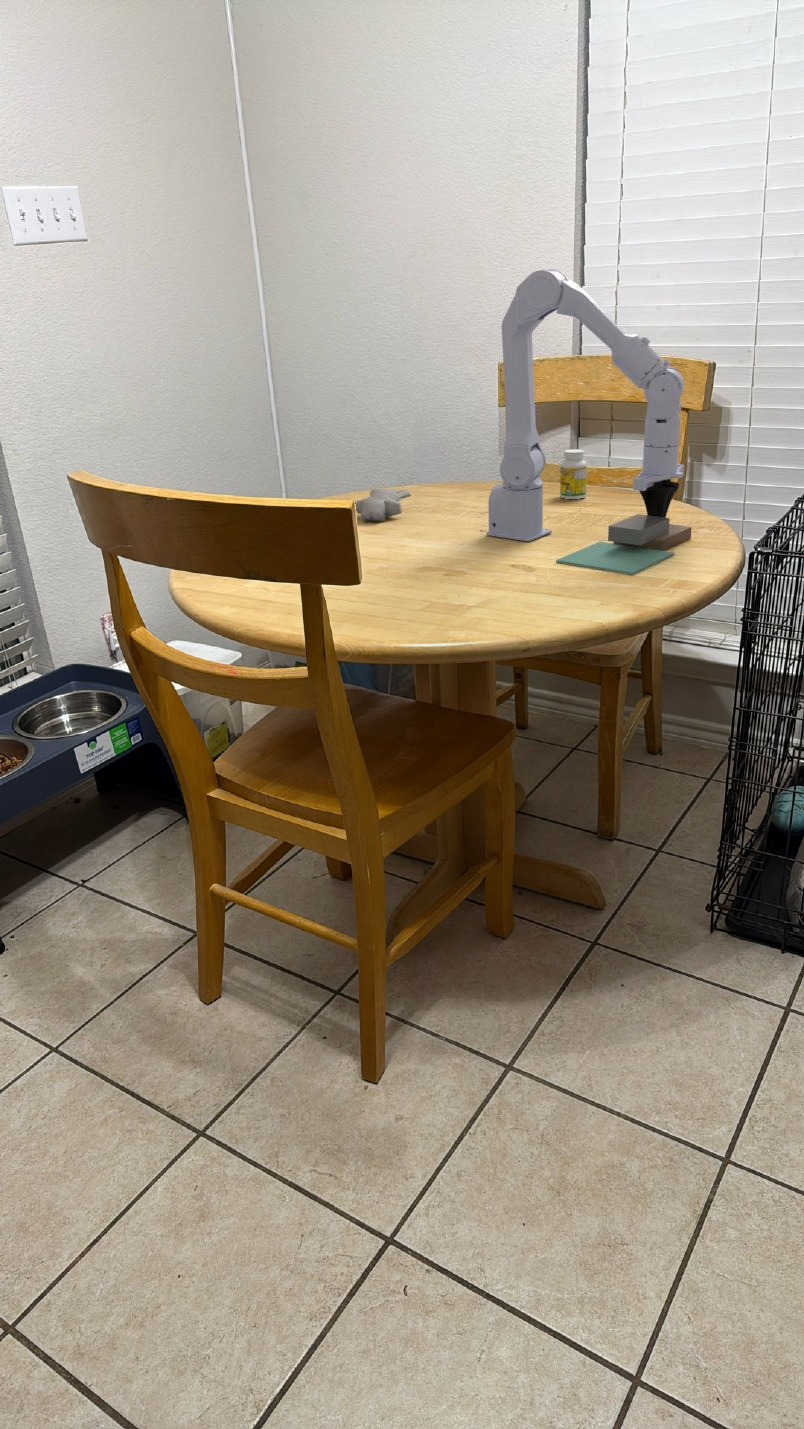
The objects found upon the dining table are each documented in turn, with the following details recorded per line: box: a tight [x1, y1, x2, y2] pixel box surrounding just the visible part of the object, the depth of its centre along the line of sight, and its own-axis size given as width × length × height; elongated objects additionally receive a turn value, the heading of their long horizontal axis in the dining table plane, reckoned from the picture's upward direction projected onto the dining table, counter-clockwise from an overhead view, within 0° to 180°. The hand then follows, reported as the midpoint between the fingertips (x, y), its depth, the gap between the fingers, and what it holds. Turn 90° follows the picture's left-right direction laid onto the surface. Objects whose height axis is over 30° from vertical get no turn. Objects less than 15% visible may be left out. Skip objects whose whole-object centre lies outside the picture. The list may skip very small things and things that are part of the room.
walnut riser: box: [612, 523, 692, 551], centre depth 168 cm, size 9×11×2 cm
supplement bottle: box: [559, 448, 588, 500], centre depth 202 cm, size 5×5×10 cm
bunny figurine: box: [354, 488, 412, 522], centre depth 196 cm, size 10×5×15 cm
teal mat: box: [555, 541, 675, 576], centre depth 160 cm, size 14×14×1 cm
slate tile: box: [607, 513, 671, 545], centre depth 164 cm, size 6×10×2 cm, turn 139°
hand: (656, 525), depth 168 cm, fingers closed
